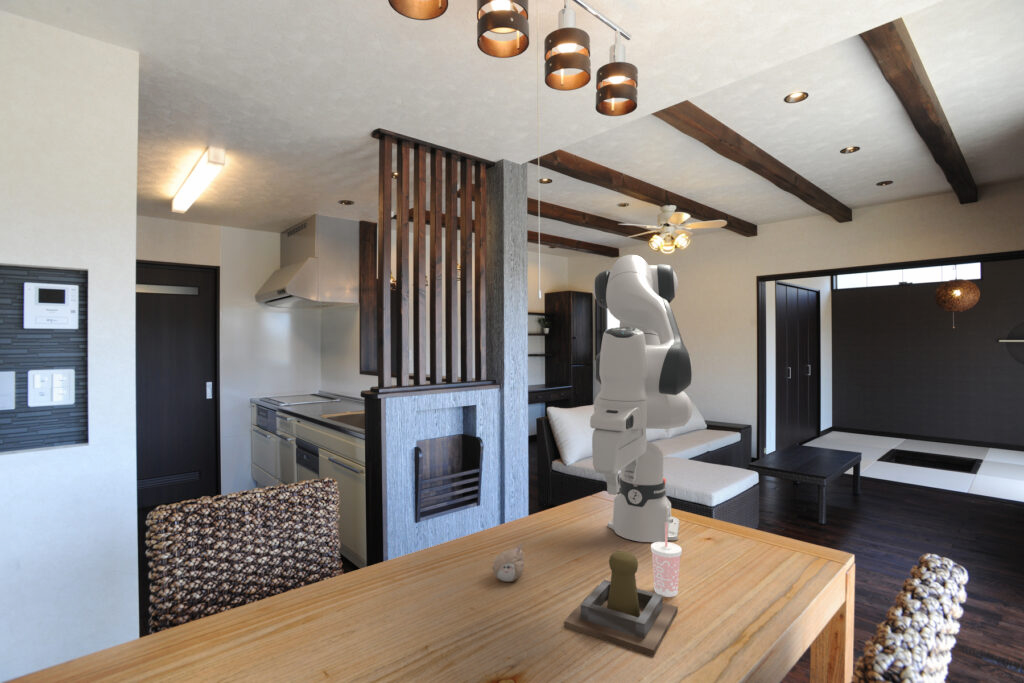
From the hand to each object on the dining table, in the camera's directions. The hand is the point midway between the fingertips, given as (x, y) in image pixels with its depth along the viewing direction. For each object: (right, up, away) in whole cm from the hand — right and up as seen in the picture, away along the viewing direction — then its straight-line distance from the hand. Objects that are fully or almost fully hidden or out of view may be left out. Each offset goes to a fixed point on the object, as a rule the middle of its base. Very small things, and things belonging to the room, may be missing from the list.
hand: (621, 486), depth 95 cm
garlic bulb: (-22, -24, +13) cm, 35 cm away
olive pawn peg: (0, -23, -3) cm, 23 cm away
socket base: (0, -24, -3) cm, 24 cm away
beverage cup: (+11, -24, +8) cm, 27 cm away
